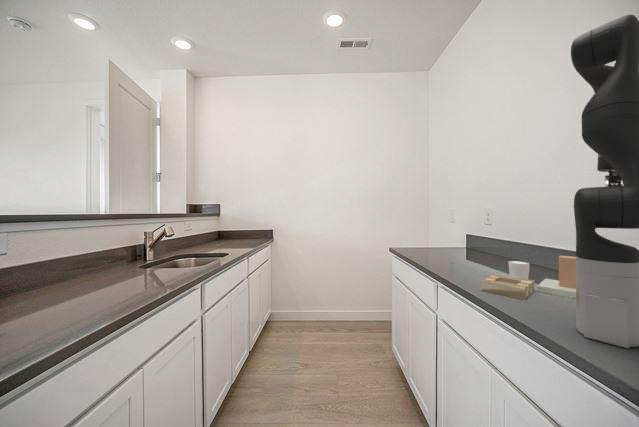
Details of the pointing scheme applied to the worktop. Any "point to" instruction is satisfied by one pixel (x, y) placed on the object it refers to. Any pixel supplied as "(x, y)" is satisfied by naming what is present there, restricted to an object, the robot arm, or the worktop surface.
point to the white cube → (519, 269)
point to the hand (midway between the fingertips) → (613, 205)
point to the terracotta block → (567, 271)
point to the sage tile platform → (556, 288)
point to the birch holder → (508, 286)
